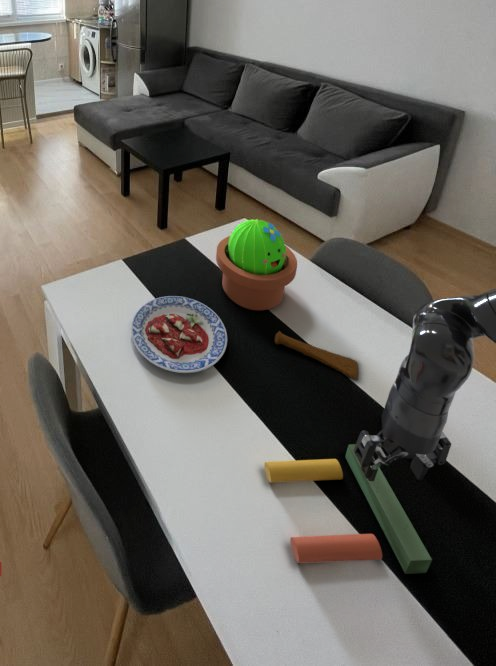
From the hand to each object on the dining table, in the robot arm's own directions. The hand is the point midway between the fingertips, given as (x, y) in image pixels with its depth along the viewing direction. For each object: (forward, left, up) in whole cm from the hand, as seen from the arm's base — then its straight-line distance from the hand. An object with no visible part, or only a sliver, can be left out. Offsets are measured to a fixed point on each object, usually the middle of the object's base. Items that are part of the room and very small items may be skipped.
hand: (391, 474), depth 75 cm
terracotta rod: (+12, +6, -10) cm, 17 cm away
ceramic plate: (+30, -41, -10) cm, 52 cm away
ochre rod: (+12, -6, -10) cm, 17 cm away
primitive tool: (-4, -33, -10) cm, 35 cm away
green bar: (0, 0, -10) cm, 10 cm away
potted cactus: (+4, -57, -10) cm, 58 cm away
